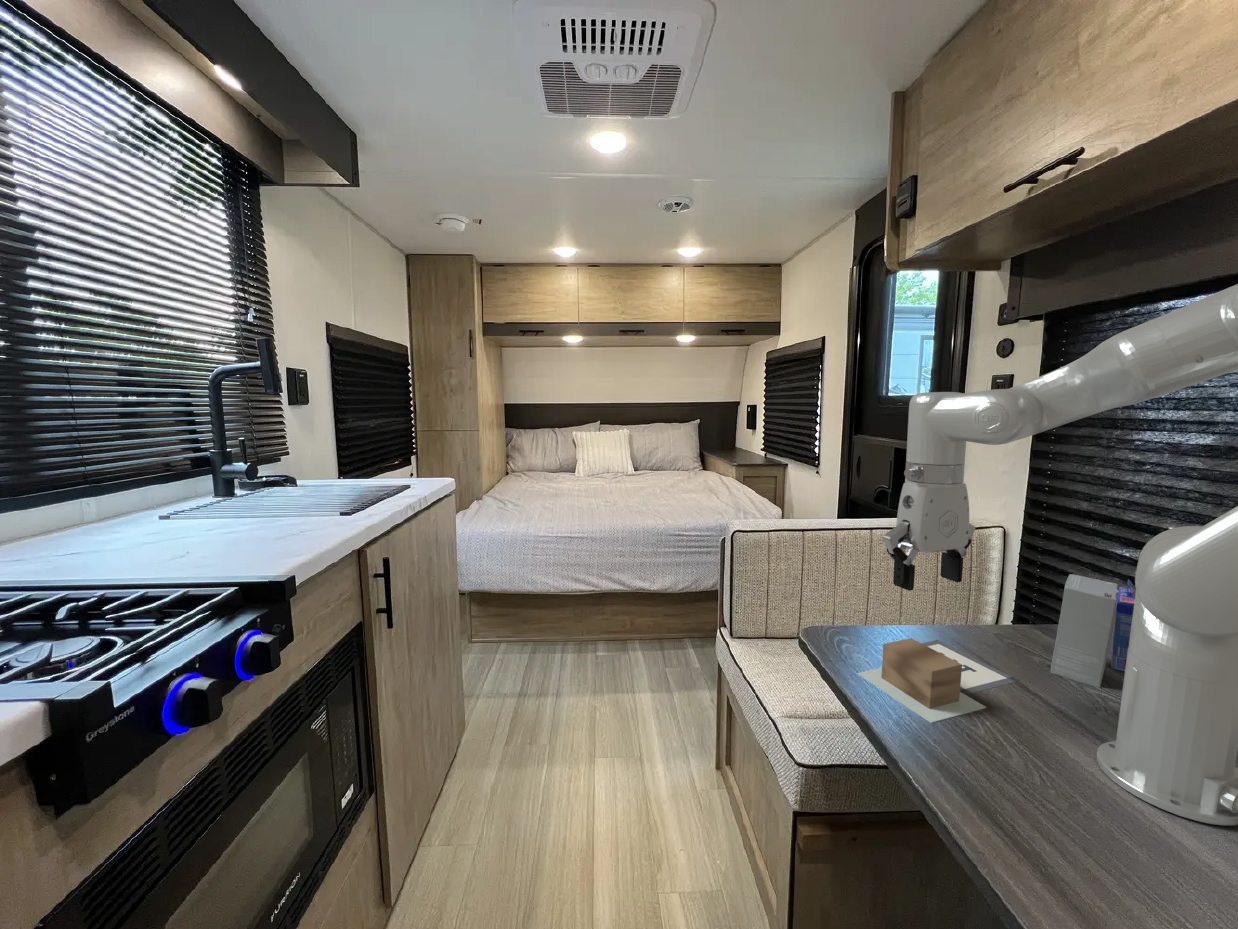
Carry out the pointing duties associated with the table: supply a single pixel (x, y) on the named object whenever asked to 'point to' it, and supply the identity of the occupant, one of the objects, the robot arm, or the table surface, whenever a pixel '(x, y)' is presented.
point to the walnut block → (921, 672)
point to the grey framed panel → (972, 670)
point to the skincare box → (1085, 629)
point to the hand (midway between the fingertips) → (927, 583)
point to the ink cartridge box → (1122, 626)
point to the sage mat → (931, 714)
